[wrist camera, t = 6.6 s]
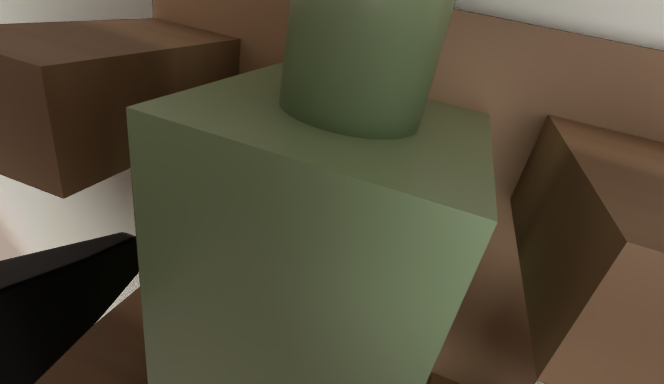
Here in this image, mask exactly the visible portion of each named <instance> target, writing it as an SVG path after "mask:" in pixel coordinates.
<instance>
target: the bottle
mask: <svg viewBox="0 0 664 384" xmlns="http://www.w3.org/2000/svg"><path fill="white" fill-rule="evenodd" d="M455 2H456V0H290V6H289V15H288V24H287V33H286V42H285V51H284V60H283V62H282V63H278V64H275V65H271V66H268V67H264V68H261V69H257V70H254V71H250V72H247V73H243V74H240V75H236V76H233V77H229V78H226V79H222V80H219V81H215V82H212V83H208V84H205V85H201V86H198V87H194V88H191V89H187V90H184V91H180V92H177V93H173V94H170V95H166V96H163V97H159V98H156V99H152V100H149V101H145V102H142V103H138V104H135V105H131V106H128V107H126V115H127V128H128V140H129V153H130V165H131V178H132V191H133V203H134V216H135V228H136V241H137V253H138V266H139V278H140V291H141V303H142V316H143V329H144V341H145V354H146V366H147V379H148V384H426V382H427V379H428V377H429V375H430V373H431V370H432V368H433V366H434V364H435V361H436V359H437V357H438V355H439V352H440V350H441V348H442V346H443V344H444V341H445V339H446V337H447V335H448V332H449V330H450V328H451V326H452V323H453V321H454V319H455V317H456V314H457V312H458V310H459V308H460V305H461V303H462V301H463V299H464V296H465V294H466V292H467V290H468V287H469V285H470V283H471V281H472V278H473V276H474V274H475V272H476V269H477V267H478V265H479V263H480V260H481V258H482V256H483V254H484V252H485V249H486V247H487V245H488V243H489V240H490V238H491V236H492V234H493V231H494V229H495V227H496V225H497V222H498V219H497V206H496V193H495V180H494V167H493V155H492V142H491V129H490V116H489V114H485V113H481V112H477V111H473V110H469V109H465V108H461V107H457V106H454V105H450V104H446V103H442V102H438V101H434V100H430V99H427V98H428V94H429V91H430V88H431V84H432V81H433V77H434V74H435V70H436V67H437V64H438V60H439V57H440V53H441V50H442V46H443V43H444V40H445V36H446V33H447V29H448V26H449V22H450V19H451V16H452V12H453V9H454V5H455Z"/></svg>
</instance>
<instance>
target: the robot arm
mask: <svg viewBox="0 0 664 384" xmlns="http://www.w3.org/2000/svg"><path fill="white" fill-rule="evenodd" d="M138 272H139V266H138V253H137V241H136V236H133V235H131V234H128V233H124V232H121V233H117V234H112V235H108V236H104V237H100V238H95V239H91V240H87V241H83V242H78V243H74V244H70V245H66V246H61V247H57V248H53V249H49V250H44V251H40V252H36V253H32V254H27V255H23V256H19V257H15V258H10V259H6V260H2V261H0V384H35V383H36V382H37V381H38V380H39V379H40V378H41V377H42V376H43V375H44V374H45V373H46V372H47V371H48V370H49V369H50V368H51V367H52V366H53V365H54V364H55V363H56V362H57V361H58V360H59V359H60V358H61V357H62V356H63V355H64V354H65V353H66V352H67V351H68V350H69V349H70V348H71V347H72V346H73V345H74V344H75V343H76V342H77V341H78V340H79V339H80V338H81V337H82V336H83V335H84V334H85V333H86V332H87V331H88V330H89V329H90V328H91V327H92V326H93V325H94V324H95V323H96V322H97V321H98V320H99V319H100V317H101V316H102V315H103V314H104V313H105V312H106V310H107V309H108V308H109V307H110V306H111V305H112V303H113V302H114V301H115V300H116V299H117V297H118V296H119V295H120V294H121V293H122V291H123V290H124V289H125V288H126V287H127V286H128V284H129V283H130V282H131V281H132V280H133V278H134V277H135V276H136V275H137V274H138Z"/></svg>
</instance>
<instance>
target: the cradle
mask: <svg viewBox="0 0 664 384" xmlns="http://www.w3.org/2000/svg"><path fill="white" fill-rule="evenodd" d="M152 1H153V18H146V19H120V20H94V21H69V22H43V23H17V24H0V174H1V175H3V176H6V177H9V178H11V179H14V180H16V181H19V182H22V183H24V184H27V185H29V186H32V187H35V188H37V189H40V190H42V191H45V192H48V193H50V194H53V195H55V196H58V197H61V198H63V199H64V198H66V197H68V196H70V195H73V194H75V193H77V192H79V191H81V190H83V189H85V188H88V187H90V186H92V185H94V184H96V183H98V182H101V181H103V180H105V179H107V178H109V177H111V176H114V175H116V174H118V173H120V172H122V171H124V170H127V169H129V168H131V165H130V153H129V140H128V128H127V115H126V107H128V106H131V105H135V104H138V103H142V102H145V101H149V100H152V99H156V98H159V97H163V96H166V95H170V94H173V93H177V92H180V91H184V90H187V89H191V88H194V87H198V86H201V85H205V84H208V83H212V82H215V81H219V80H222V79H226V78H229V77H233V76H236V75H240V74H243V73H247V72H250V71H254V70H257V69H261V68H264V67H268V66H271V65H275V64H278V63H282V62H283V60H284V51H285V42H286V33H287V24H288V15H289V6H290V0H152ZM427 99H430V100H434V101H438V102H442V103H446V104H450V105H454V106H457V107H461V108H465V109H469V110H473V111H477V112H481V113H485V114H489V116H490V129H491V142H492V155H493V167H494V180H495V193H496V206H497V219H498V222H497V225H496V227H495V229H494V231H493V234H492V236H491V238H490V240H489V243H488V245H487V247H486V249H485V252H484V254H483V256H482V258H481V260H480V263H479V265H478V267H477V269H476V272H475V274H474V276H473V278H472V281H471V283H470V285H469V287H468V290H467V292H466V294H465V296H464V299H463V301H462V303H461V305H460V308H459V310H458V312H457V314H456V317H455V319H454V321H453V323H452V326H451V328H450V330H449V332H448V335H447V337H446V339H445V341H444V344H443V346H442V348H441V350H440V352H439V355H438V357H437V359H436V361H435V364H434V366H433V368H432V370H431V373H430V375H429V377H428V379H427V382H426V384H535V382H536V381H537V380H538V381H541V382H543V383H546V384H664V51H661V50H657V49H652V48H647V47H642V46H637V45H632V44H627V43H622V42H617V41H612V40H607V39H602V38H597V37H592V36H587V35H582V34H577V33H572V32H567V31H562V30H557V29H552V28H547V27H542V26H537V25H532V24H527V23H523V22H518V21H513V20H508V19H503V18H498V17H493V16H488V15H483V14H478V13H473V12H468V11H463V10H458V9H453V12H452V16H451V19H450V22H449V26H448V29H447V33H446V36H445V40H444V43H443V46H442V50H441V53H440V57H439V60H438V64H437V67H436V70H435V74H434V77H433V81H432V84H431V88H430V91H429V94H428V98H427ZM35 384H148V379H147V366H146V354H145V341H144V329H143V316H142V303H141V291H140V287H139V288H138V289H137V290H135V291H134V292H133V293H132V294H131V295H129V296H128V297H127V298H126V299H124V300H123V301H122V302H121V303H120V304H118V305H117V306H116V307H115V308H114V309H112V310H111V311H110V312H109V313H108V314H106V315H105V316H104V317H103V318H101V319H100V320H99V321H98V322H97V323H95V324H94V325H93V326H92V327H91V328H90V329H89V330H88V331H87V332H86V333H85V334H84V335H83V336H82V337H81V338H80V339H79V340H78V341H77V342H76V343H75V344H74V345H73V346H72V347H71V348H70V349H69V350H68V351H67V352H66V353H65V354H64V355H63V356H62V357H61V358H60V359H59V360H58V361H57V362H56V363H55V364H54V365H53V366H52V367H51V368H50V369H49V370H48V371H47V372H46V373H45V374H44V375H43V376H42V377H41V378H40V379H39V380H38V381H37V382H36V383H35Z"/></svg>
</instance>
